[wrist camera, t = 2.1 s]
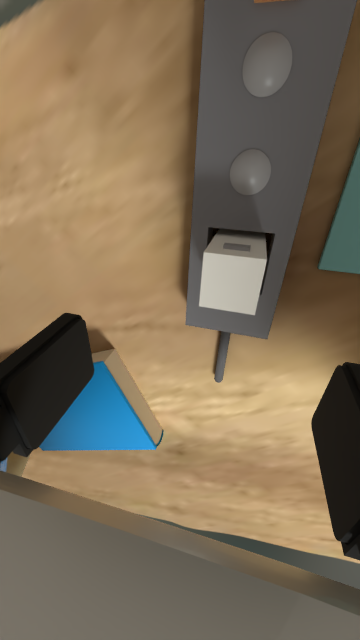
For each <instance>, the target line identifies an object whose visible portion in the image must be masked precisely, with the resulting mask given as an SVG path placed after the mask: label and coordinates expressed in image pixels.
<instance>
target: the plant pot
mask: <svg viewBox="0 0 360 640" xmlns="http://www.w3.org/2000/svg"><path fill="white" fill-rule="evenodd" d="M29 455H30V454H29ZM28 458H29V456H28V457H23V456H20V455H17V454H14V453H13V451H12V452H11V453H10V455H9V456H8V457H7V468H6V472H7V473H10V474H14V475H17V476H20V477H21V476H22V473H23V471H24V469H25V466H26V463H27V461H28Z"/></svg>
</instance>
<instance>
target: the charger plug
mask: <svg viewBox="0 0 360 640" xmlns="http://www.w3.org/2000/svg"><path fill="white" fill-rule="evenodd" d="M266 262H267V252H266V237H265V233H264V232H254V231H243V230H233V229H222V228H220V229H219V230H218V232H217V233H216V235H215V236H214V238H213V239H212V241H211V242H210V244H209V245H208V247H207V248H206V250H205V251H204V254H203V265H202V277H201V288H200V300H199V306H200V307H207V308H213V309H219V310H225V311H231V312H238V313H244V314H250V315H255V312H256V307H257V303H258V298H259V294H260V289H261V285H262V280H263V276H264V271H265V266H266Z"/></svg>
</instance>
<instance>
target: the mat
mask: <svg viewBox="0 0 360 640" xmlns="http://www.w3.org/2000/svg"><path fill="white" fill-rule="evenodd" d="M318 269H322V270H331V271H339V272H347V273H356V274H360V139H359V142H358V145H357V149H356V152H355V155H354V158H353V161H352V164H351V167H350V170H349V173H348V176H347V179H346V182H345V185H344V188H343V191H342V194H341V197H340V200H339V203H338V206H337V209H336V212H335V215H334V218H333V221H332V224H331V227H330V230H329V234H328V237H327V240H326V243H325V246H324V249H323V252H322V255H321V258H320V261H319V264H318Z"/></svg>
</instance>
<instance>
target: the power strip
mask: <svg viewBox="0 0 360 640" xmlns="http://www.w3.org/2000/svg"><path fill="white" fill-rule="evenodd" d="M356 2H357V0H205V5H204V22H203V39H202V56H201V73H200V90H199V106H198V123H197V140H196V157H195V174H194V191H193V208H192V225H191V242H190V258H189V275H188V292H187V309H186V325H189V326H195V327H201V328H206V329H212V330H218V331H221V337H220V344H219V350H218V357H217V364H216V371H215V378H214V379H215V381H216V382H218V383H219V382H221V381H222V380H223V374H224V368H225V362H226V356H227V350H228V345H229V339H230V333H234V334H240V335H246V336H251V337H257V338H263V339H268V335H269V331H270V328H271V324H272V320H273V316H274V313H275V309H276V305H277V301H278V297H279V294H280V290H281V286H282V282H283V278H284V275H285V271H286V267H287V263H288V260H289V256H290V252H291V248H292V244H293V241H294V237H295V233H296V229H297V226H298V222H299V218H300V214H301V210H302V207H303V203H304V199H305V195H306V191H307V188H308V184H309V180H310V176H311V173H312V169H313V165H314V161H315V157H316V154H317V150H318V146H319V142H320V138H321V135H322V131H323V127H324V123H325V120H326V116H327V112H328V108H329V104H330V101H331V97H332V93H333V89H334V86H335V82H336V78H337V74H338V70H339V67H340V63H341V59H342V55H343V51H344V48H345V44H346V40H347V36H348V33H349V29H350V25H351V21H352V17H353V14H354V10H355V6H356ZM213 228H222V229H233V230H243V231H254V232H264V233H272V237H271V242H270V246H269V251H268V255H267V262H266V266H265V271H264V276H263V280H262V285H261V289H260V294H259V298H258V303H257V307H256V312H255V315H250V314H244V313H238V312H231V311H225V310H219V309H213V308H207V307H200V306H199V300H200V288H201V277H202V265H203V254H204V251H205V250H206V248H207V247H208V245H209V244H210V242H211V241H212V236H213Z"/></svg>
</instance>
